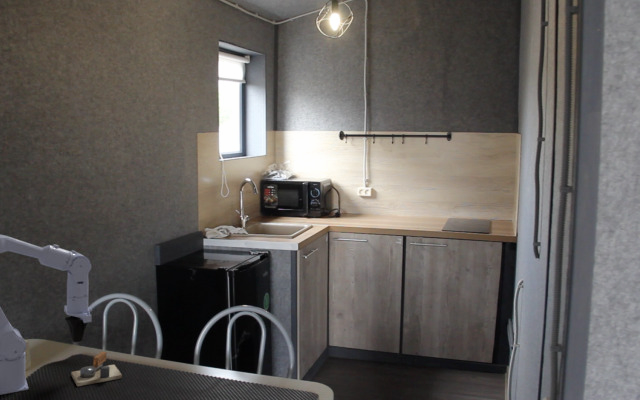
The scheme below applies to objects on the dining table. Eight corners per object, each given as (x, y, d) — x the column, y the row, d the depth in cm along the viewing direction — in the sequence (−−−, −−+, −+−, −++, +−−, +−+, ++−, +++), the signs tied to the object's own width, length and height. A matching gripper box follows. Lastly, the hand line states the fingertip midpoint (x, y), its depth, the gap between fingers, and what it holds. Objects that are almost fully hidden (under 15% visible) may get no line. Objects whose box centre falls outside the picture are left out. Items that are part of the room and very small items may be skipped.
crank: (90, 378, 152) (90, 366, 151) (77, 377, 152) (77, 365, 152) (110, 363, 163) (110, 352, 163) (97, 362, 163) (97, 351, 163)
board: (77, 386, 149) (77, 382, 149) (71, 375, 156) (71, 371, 156) (121, 378, 155) (121, 374, 155) (114, 367, 163) (114, 364, 163)
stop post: (101, 378, 152) (101, 369, 152) (99, 375, 154) (99, 367, 154) (110, 377, 153) (110, 368, 153) (108, 374, 155) (108, 365, 155)
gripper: (102, 298, 153) (101, 344, 154) (81, 288, 163) (80, 332, 164) (77, 302, 148) (76, 350, 149) (57, 292, 158) (56, 337, 159)
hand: (77, 341), depth 156 cm, fingers closed
